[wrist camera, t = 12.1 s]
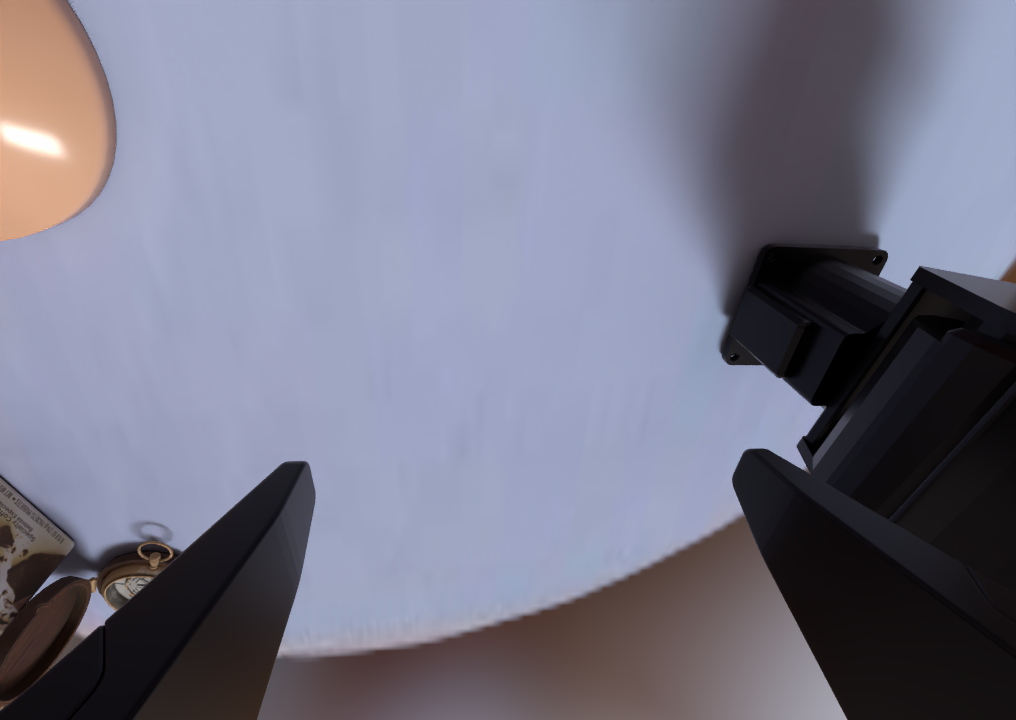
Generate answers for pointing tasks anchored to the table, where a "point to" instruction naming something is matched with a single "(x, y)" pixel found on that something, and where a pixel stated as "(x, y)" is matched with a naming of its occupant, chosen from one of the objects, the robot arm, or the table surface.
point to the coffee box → (25, 552)
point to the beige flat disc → (50, 117)
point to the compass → (67, 616)
